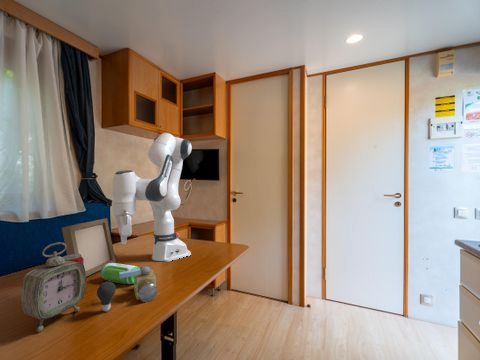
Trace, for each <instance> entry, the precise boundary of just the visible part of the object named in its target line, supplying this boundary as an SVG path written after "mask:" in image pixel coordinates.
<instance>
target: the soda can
mask: <svg viewBox="0 0 480 360" xmlns="http://www.w3.org/2000/svg"><path fill="white" fill-rule="evenodd" d="M61 257H62V258H63V259H64V260H65V261H73V262H78V263H83V265H84V258H83V257H82V255H81V254H71V255H67V254H66V255H64V256H61Z"/></svg>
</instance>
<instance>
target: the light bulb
mask: <svg viewBox="0 0 480 360" xmlns="http://www.w3.org/2000/svg"><path fill="white" fill-rule="evenodd" d="M116 289H117V287H116V285H115V282H112V281H105V282H102V283H101V284H100V285H99V286H98V287H97V290H96V296H97V298H98V299H99V301H100V302H101V303H100V304H101V305H102V306H101V308H102V311H103V312H108V311H109V310H111V306H112V305H111V304H112V300H113V298H114V295H115V293H116Z"/></svg>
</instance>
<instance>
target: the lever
mask: <svg viewBox="0 0 480 360" xmlns="http://www.w3.org/2000/svg"><path fill="white" fill-rule="evenodd" d="M150 269H151V267H150V266H149V265H144V266H141V267H139V269H134V270H129V271H124V272H119V277H120V278H125V277H129V276H134V275H139V274H141V275H145V274H148V273H150Z"/></svg>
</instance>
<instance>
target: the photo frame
mask: <svg viewBox="0 0 480 360" xmlns="http://www.w3.org/2000/svg"><path fill="white" fill-rule="evenodd" d="M109 226H110V225H109V221H108V218H107V217H106V218H101V219H95V220H90V221H87V222H81V223H76V224H73V225H67V226H65V227H61V230H62V231H61V232H62V237H63V239H64V242H63V243H64V244H66V246H67V248H66V250H65V252H66V256H67V255H71V254H81V255H82V257H83V258H84V268H85V275H86V278H87V277H88V276H91V275H93V274H94V273H95V274H96V273H97V272H99V271H101V269H102V268H103V266H104V265H106V264H108V263H117V261H116V256H115V251H114V247H113V241H112V237H111V232H110V227H109Z"/></svg>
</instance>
